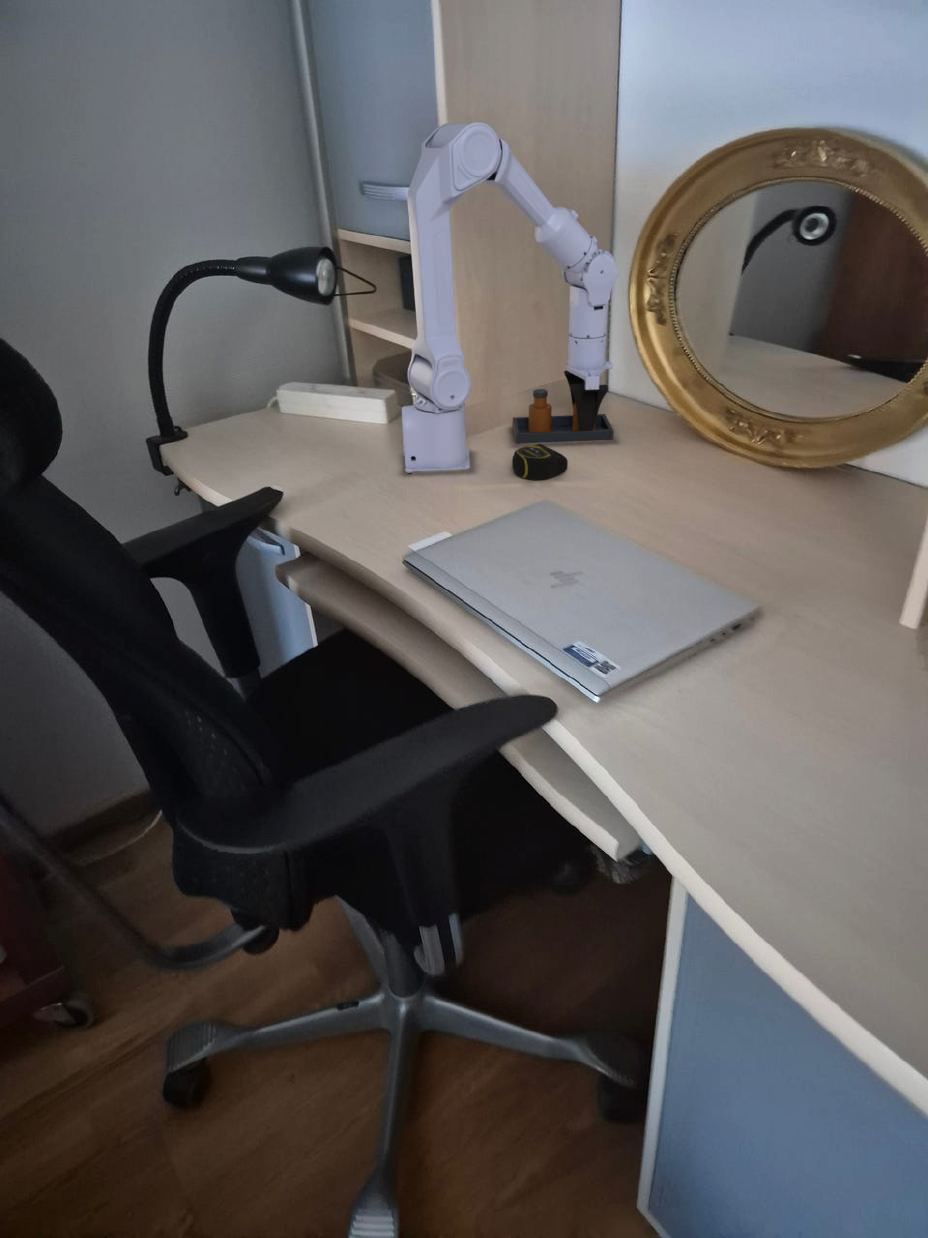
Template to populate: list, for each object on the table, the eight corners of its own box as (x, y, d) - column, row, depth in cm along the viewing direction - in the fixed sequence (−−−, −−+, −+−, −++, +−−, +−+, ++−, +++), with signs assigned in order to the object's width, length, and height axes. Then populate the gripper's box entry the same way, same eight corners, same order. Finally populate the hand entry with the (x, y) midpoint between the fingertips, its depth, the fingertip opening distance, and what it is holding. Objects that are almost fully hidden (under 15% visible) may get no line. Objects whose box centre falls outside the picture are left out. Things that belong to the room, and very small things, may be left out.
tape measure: (569, 478, 115) (570, 453, 113) (528, 488, 112) (528, 463, 111) (543, 463, 120) (543, 439, 118) (503, 473, 118) (503, 448, 116)
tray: (515, 446, 127) (515, 434, 126) (512, 429, 134) (512, 417, 133) (612, 442, 127) (613, 430, 126) (604, 425, 134) (605, 413, 133)
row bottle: (529, 437, 129) (529, 394, 125) (527, 430, 132) (527, 387, 128) (552, 436, 129) (553, 393, 125) (549, 429, 132) (550, 387, 128)
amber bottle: (573, 435, 129) (575, 392, 125) (571, 428, 132) (572, 386, 128) (596, 435, 129) (598, 391, 125) (593, 427, 132) (595, 385, 128)
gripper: (622, 344, 116) (616, 436, 123) (606, 322, 128) (601, 407, 135) (573, 346, 116) (569, 438, 123) (561, 324, 128) (559, 408, 135)
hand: (583, 422), depth 129 cm, fingers open, 6 cm apart
